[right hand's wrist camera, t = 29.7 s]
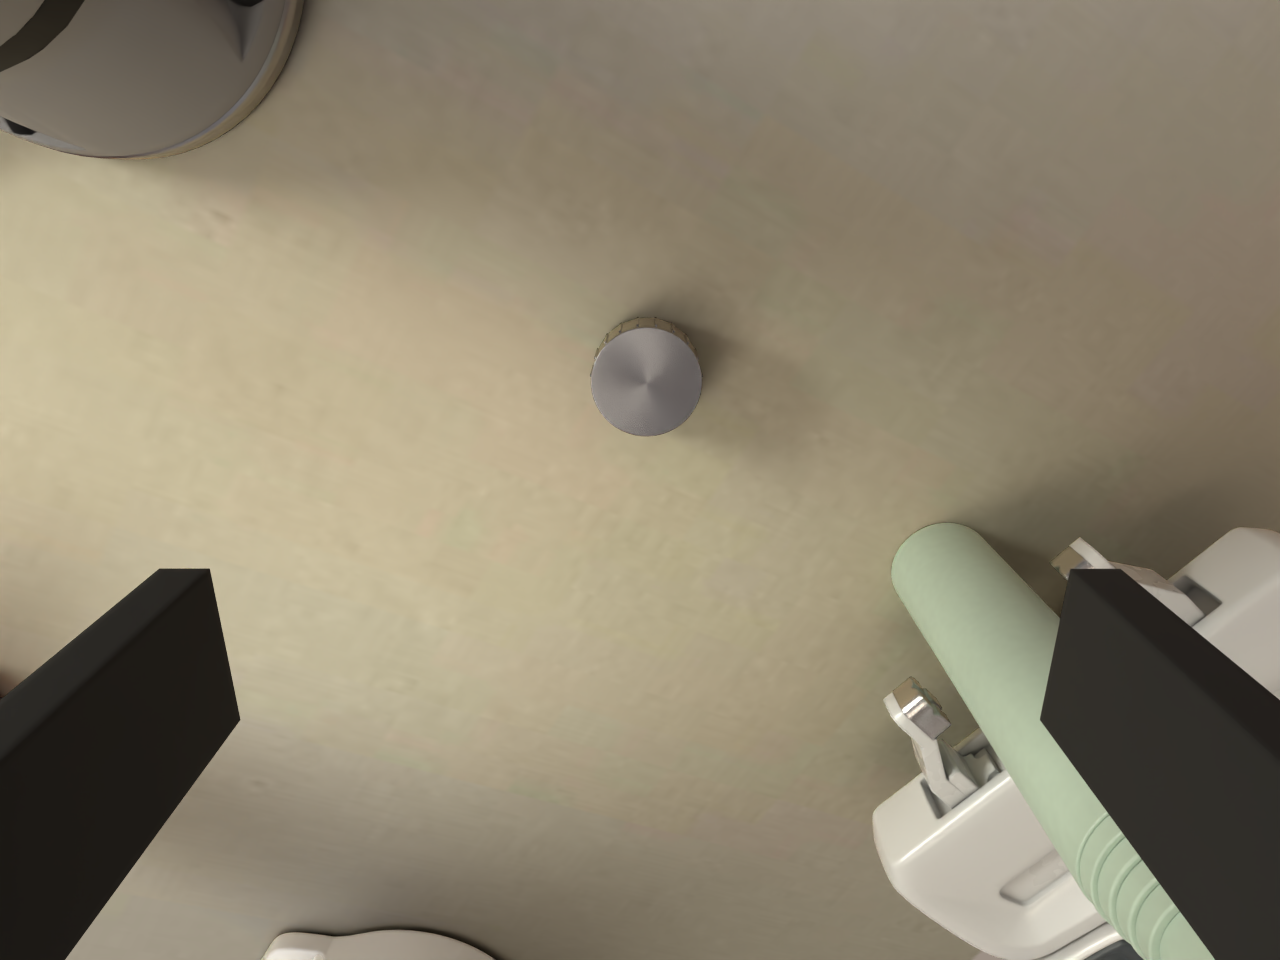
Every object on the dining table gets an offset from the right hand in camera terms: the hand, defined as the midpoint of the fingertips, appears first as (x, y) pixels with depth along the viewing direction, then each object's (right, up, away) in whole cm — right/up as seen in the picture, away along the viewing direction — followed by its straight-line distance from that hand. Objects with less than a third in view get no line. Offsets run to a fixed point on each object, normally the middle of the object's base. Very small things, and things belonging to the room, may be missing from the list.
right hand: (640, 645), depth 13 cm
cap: (0, +6, +20) cm, 21 cm away
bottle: (+14, -1, +25) cm, 28 cm away
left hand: (+13, -3, +19) cm, 23 cm away
